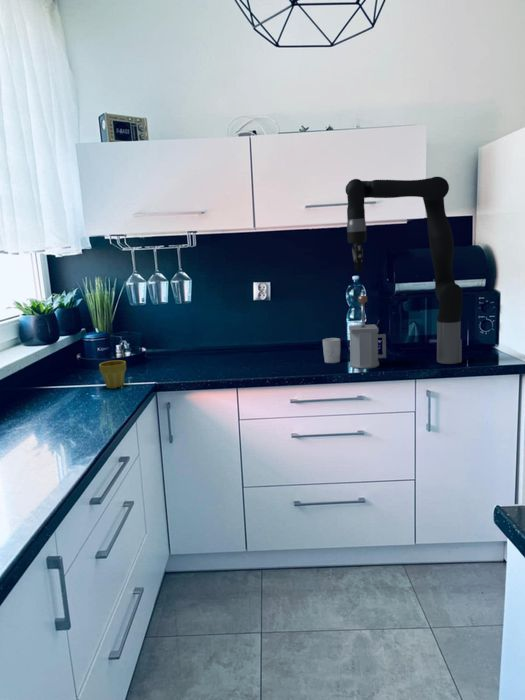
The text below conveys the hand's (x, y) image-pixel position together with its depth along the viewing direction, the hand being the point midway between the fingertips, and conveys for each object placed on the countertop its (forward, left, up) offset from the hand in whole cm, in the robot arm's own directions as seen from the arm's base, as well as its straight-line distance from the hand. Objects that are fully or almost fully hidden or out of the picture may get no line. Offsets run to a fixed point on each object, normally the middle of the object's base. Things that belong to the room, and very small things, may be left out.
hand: (358, 270), depth 224 cm
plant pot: (+101, +19, -40) cm, 110 cm away
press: (-3, 0, -40) cm, 40 cm away
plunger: (-1, 0, -27) cm, 27 cm away
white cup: (+12, -10, -40) cm, 43 cm away
